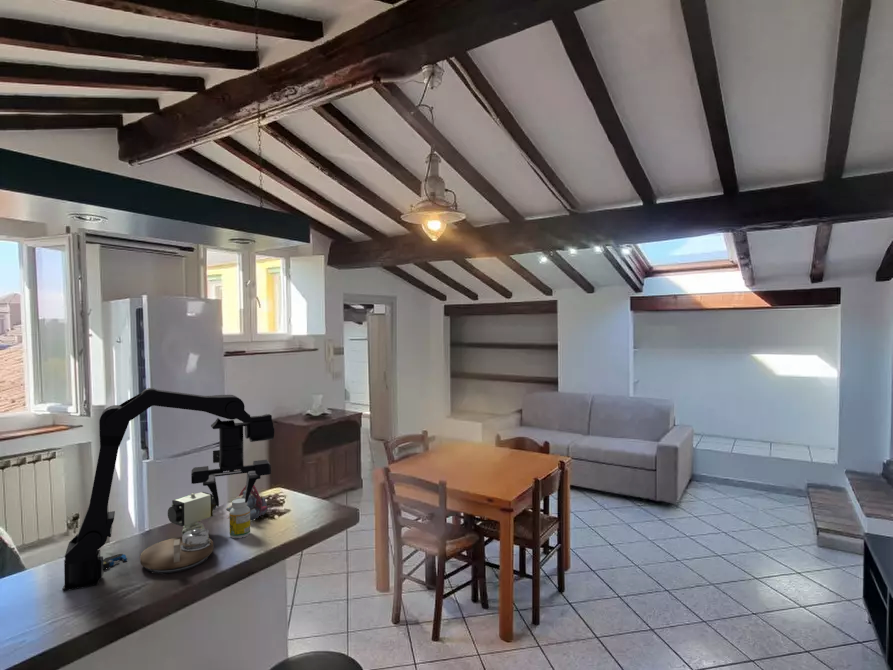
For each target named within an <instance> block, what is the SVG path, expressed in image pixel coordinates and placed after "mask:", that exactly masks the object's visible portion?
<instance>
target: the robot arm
mask: <svg viewBox="0 0 893 670" xmlns="http://www.w3.org/2000/svg"><path fill="white" fill-rule="evenodd" d="M155 406H156V407H161V408H171V409H181V410H189V411H196V412H197V411H199V412H204V413H207V414H209V415H210V414H211V415H213V416H216V417H218V418H216V420H215V421H214V422H212V424H210V427H211V429H213V430H219V433H218V434H219V439H218V440H219V449H218V450H215V449H214V450H212V464H218V467H219V468H213V469H209V465H204V466H196V467H193V468H192V469H191V471H190V473H191V475H190V476H191V484H193V485H195V484H202V486H204V487H207V488H208V489H209V490H210V491H209V492H210V494H212V495H213V497H214V500H215V502H216V505H217V506H216V508H217V507H219V506H220V499H219V494H218V493H219V492H218V487H217V486H218V485H217V482H216V477H217V478H218V477H224V476H232V475H233V476H234V475H238V474H239V475H240V474H246V482H245V483H246V484H245V486H246V490H245V503H247V501H248V498H249V495H250V492H251V490H252V488H253V486H254V485H256V484H255V483H256V482H257V480H259V479H261V476H268V475H271V474H272V467H271V466H272V465H271V463H270V462H269V460H267V459H260V460H259V459H258V460H253V461H252V464H248V465H244V461H245V459H244V458H245V457H244V437H245V439H246V440H247V439H249V442H250V443H254V442H263V441H272V440H274V437H275V427H274V422H273V418H272V417H273V415H271V414H270V413H268V414H267V413H266V414H263V415H262V414H261V415H253V416H251V414H249V413H248V412H247V411H246V410H245V409H246V408H245V404H244V401H243V400H242V399H241V398H239V397H238V396H236V395H234V394H215V395H200V394H193V393H185V392H179V391H178V392H177V391H169V390H164V389H163V390H162V389H157V388H153V387H148V388H145V389H144V390H142V392H140V393H138V394H136V395H135V396H133V397H131V398H128V399H127V400H126V401H124V402H122V403H121V404H117V405H116V404H114V405H110V406H107V407H106V408H105V409H104V410H103V411H102V413H101V415H100V418H99V422H98V424H99V426H98V427H99V431H98V432H99V446H100V447H99V452H98V458H97V463H96V469H95V472H94V473H95V474H94V478H93V483H92V488H91V489H92V490H91V495H90V500H89V505H88V507H87V510H86V512H85V514H84V517H83V520H82V522H81V525H80V527H79V529H78V530H79V531H78V533H77V534H76V535H75V536H74V537H73V538H72V539H71V540H70V541H68V544H67V548H66V551H65V554H64V560H63V562H64V564H63V565H64V567H63V568H64V569H63V570H64V578H63V579H64V584H63V587H62V591H63V592H66V591H70V590H69V589H72V590H76V589H75V588H77V589H82V587H83V588H87V587H92V586H97V585H98V584H99V582H100V579H102V578H103V576H104V570H103V560H104V556H101V549H100V548H102V547H103V546H104V545H106V544H107V540H108V538H111V537H112V534H113V533H112V531H113V525H114V524H113V523H114V521H115V515H116V511H115V510H114V511H109V500H110V496H111V495H110V494H111V489H112V485H113V479H114V473H115V468H116V463H117V457H118V452H119V448H120V445H121V443H122V440H123V438H124V436H125V434H126V431H127V428H128V426H129V423H130V422H131V421H132V420H134V419H135V418H137V417H138V416H139V415H141V414H142V413H144V412H145V411H147V410H148V409H150V408H151V407H155ZM219 417H220V418H223V419H227V420H221V419H220V418H219ZM235 420H238V421H240V422H235ZM65 590H66V591H65Z"/></svg>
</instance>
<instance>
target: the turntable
mask: <svg viewBox="0 0 893 670" xmlns="http://www.w3.org/2000/svg"><path fill="white" fill-rule="evenodd" d="M209 540H210V541H211V544H210V546H208V547H207V548H205V549H202V550H199V551H193V552H185V551H182V550H181V545H182V536H179V537H172V538H169V539H165V540H162V541H160V542H159V541H158V542H156V543H154V544H151V545H149V546H148V547H147V548H145V549H144V550H143V551H142V552H141V554H140V562H139V563H140V565H141V566H142V567H143V568H145V569H146V568H148V569H155V570H164V569H174V568H179V567H184V566H187V565H191V564H193V563H196V562H198V561H201V560H203V559H204V558H206V557H208V556H209V557H210V555H211V554H212V553H213V552H214V541H213V540H212V539H211V538H209ZM209 557H208V558H209Z"/></svg>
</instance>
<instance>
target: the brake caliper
mask: <svg viewBox="0 0 893 670" xmlns="http://www.w3.org/2000/svg"><path fill="white" fill-rule="evenodd" d="M245 490H246V485H244V487H243V488H242V489H241V490H240V493H239V494H238V496H236V497H235V498H234V500H236V499H245ZM247 503H248V504H247V506H248V507H249V508H250V520H252V521H255V520H257V519H259V518H260V517H262V516H261V515H263V516H265V514H266V513H267V511H268V509H269V508H268V505H267V501H266V498H265V496H263V497H261V496H260V494H259V492H258V490H257V488H256V484H254V486H253V488H252V490H251V492H250V495H249V498H248V501H247ZM232 508H233V507H232V504H231V505H229V506H227V507H226V508H225V510H226V511H228V513H229V512H230V510H231V509H232ZM259 516H260V517H259ZM256 518H257V519H256ZM226 519H229V516H227V517H226ZM254 519H255V520H254Z"/></svg>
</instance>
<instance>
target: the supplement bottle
mask: <svg viewBox="0 0 893 670" xmlns="http://www.w3.org/2000/svg"><path fill="white" fill-rule="evenodd" d="M247 504H248V503H245V499H236V500H235V499H233V500H232V501H231V505H232V507H233V508H232V509H231V510H230V512H229V511H228V514H229V516H228V517H229V518H228V519H229V536H230V537H231V538H232V539H242V537H243V538H246V537H248V536H249V535H250V534H251V521H250V508H249V507H248V506H247Z"/></svg>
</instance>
